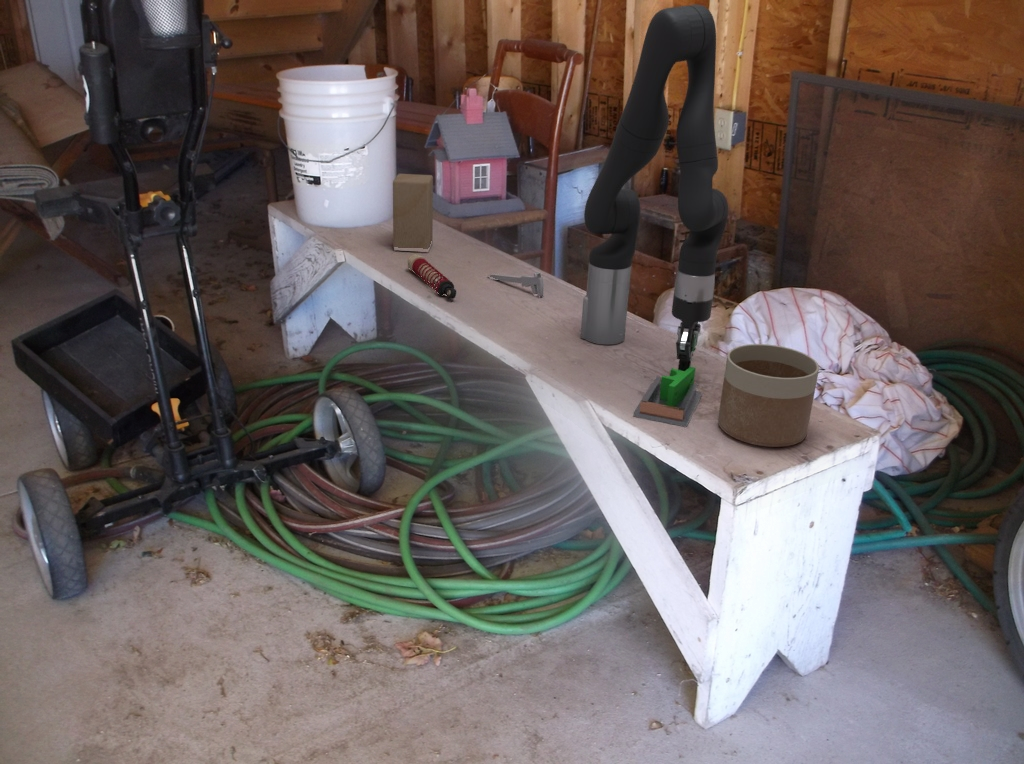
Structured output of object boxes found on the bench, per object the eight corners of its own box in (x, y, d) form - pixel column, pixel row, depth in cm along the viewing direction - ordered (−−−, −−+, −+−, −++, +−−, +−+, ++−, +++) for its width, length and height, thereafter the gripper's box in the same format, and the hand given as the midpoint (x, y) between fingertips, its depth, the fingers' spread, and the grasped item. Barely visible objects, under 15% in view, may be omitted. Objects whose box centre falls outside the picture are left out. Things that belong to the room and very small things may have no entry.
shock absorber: (465, 288, 230) (422, 253, 254) (448, 283, 227) (407, 248, 252) (458, 306, 231) (416, 269, 255) (441, 301, 228) (400, 264, 253)
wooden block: (393, 251, 267) (392, 180, 259) (398, 242, 276) (397, 173, 268) (428, 253, 267) (429, 182, 259) (432, 243, 276) (433, 174, 268)
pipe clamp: (675, 384, 189) (677, 363, 187) (692, 389, 187) (695, 367, 185) (653, 403, 180) (655, 381, 178) (671, 408, 178) (674, 386, 176)
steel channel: (633, 416, 176) (634, 402, 175) (651, 386, 189) (653, 373, 188) (686, 426, 173) (688, 413, 172) (701, 395, 186) (703, 382, 185)
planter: (755, 404, 183) (766, 337, 178) (824, 435, 172) (838, 366, 166) (699, 423, 175) (708, 354, 169) (767, 458, 163) (780, 385, 158)
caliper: (543, 298, 236) (544, 274, 234) (540, 299, 236) (541, 275, 233) (489, 277, 250) (490, 254, 247) (486, 278, 249) (486, 255, 247)
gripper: (680, 281, 191) (671, 361, 198) (667, 300, 179) (657, 384, 186) (718, 286, 188) (707, 367, 195) (707, 306, 177) (696, 391, 184)
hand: (683, 375), depth 191 cm, fingers closed
